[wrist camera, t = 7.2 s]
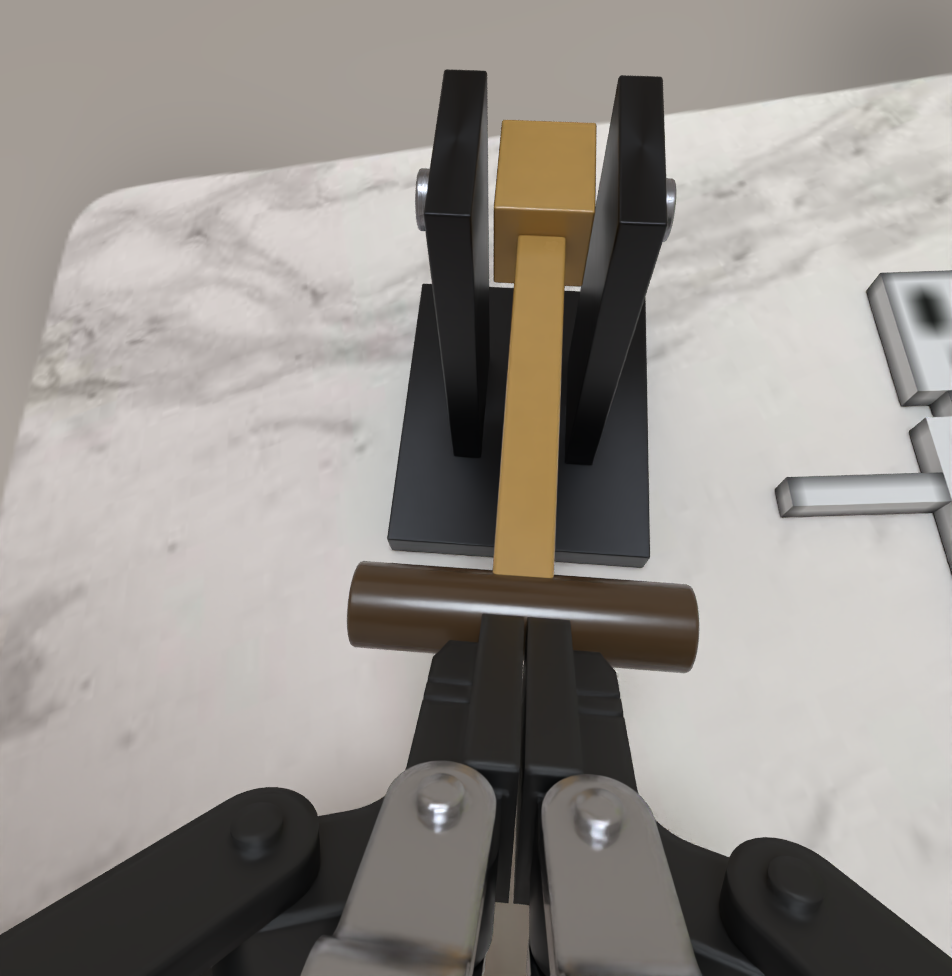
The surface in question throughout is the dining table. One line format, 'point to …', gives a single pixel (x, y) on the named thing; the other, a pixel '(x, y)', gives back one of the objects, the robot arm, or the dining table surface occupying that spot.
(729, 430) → the dining table surface
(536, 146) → the lock lever
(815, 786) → the dining table surface
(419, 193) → the bracket
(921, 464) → the robot figure
